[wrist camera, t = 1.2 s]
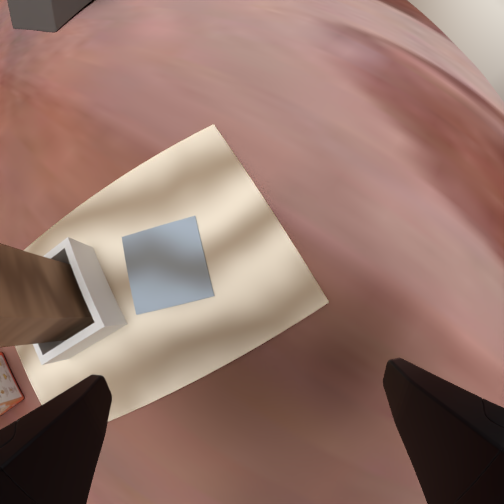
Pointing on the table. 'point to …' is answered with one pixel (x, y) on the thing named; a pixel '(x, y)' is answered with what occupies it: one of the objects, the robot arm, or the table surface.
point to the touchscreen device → (43, 13)
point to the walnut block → (38, 299)
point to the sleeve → (95, 297)
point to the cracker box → (8, 387)
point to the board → (179, 274)
